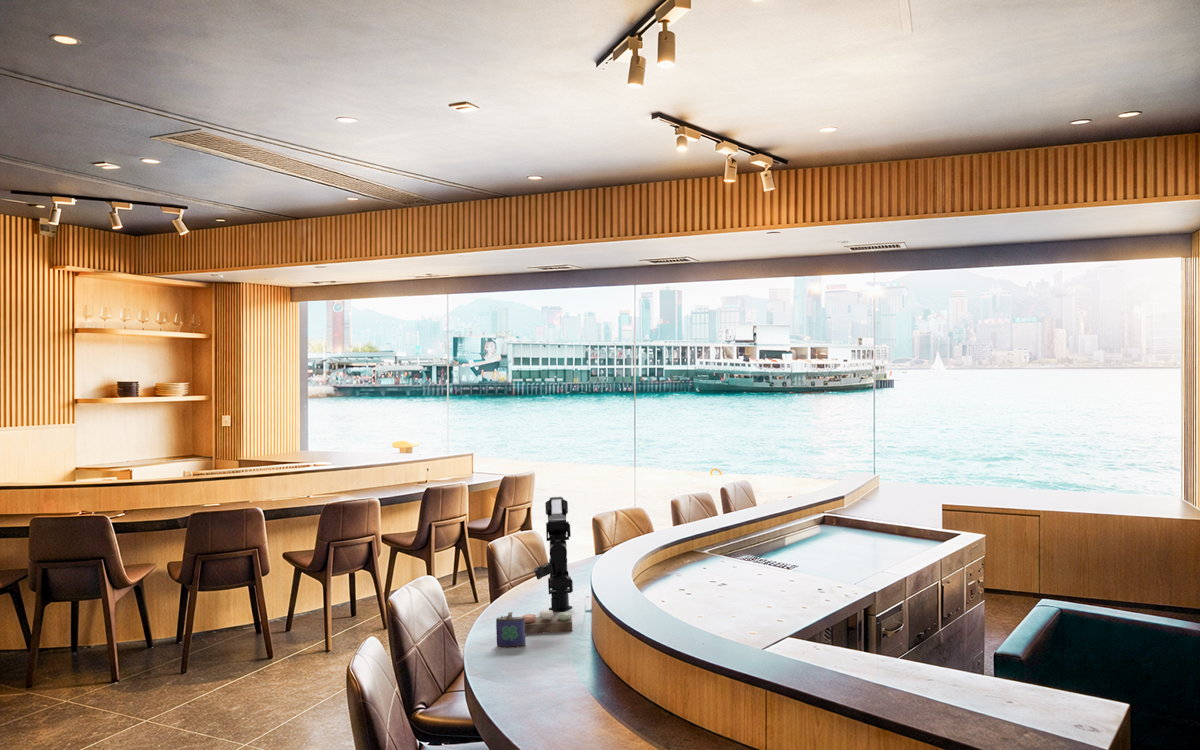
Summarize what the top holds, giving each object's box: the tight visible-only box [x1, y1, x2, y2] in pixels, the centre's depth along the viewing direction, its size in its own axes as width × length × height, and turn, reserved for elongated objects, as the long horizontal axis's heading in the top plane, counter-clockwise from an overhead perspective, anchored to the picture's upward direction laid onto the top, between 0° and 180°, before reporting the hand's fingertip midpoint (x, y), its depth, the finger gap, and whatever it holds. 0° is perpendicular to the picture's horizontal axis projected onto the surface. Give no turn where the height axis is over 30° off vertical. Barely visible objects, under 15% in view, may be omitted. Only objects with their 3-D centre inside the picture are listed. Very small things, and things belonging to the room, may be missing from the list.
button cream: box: [539, 609, 554, 619], centre depth 244 cm, size 4×4×2 cm
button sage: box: [557, 611, 572, 621], centre depth 245 cm, size 4×4×2 cm
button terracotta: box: [521, 613, 536, 623], centre depth 244 cm, size 4×4×2 cm
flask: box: [495, 611, 526, 649], centre depth 228 cm, size 9×3×11 cm, turn 88°
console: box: [525, 615, 573, 635], centre depth 244 cm, size 17×8×3 cm, turn 94°
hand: (560, 601), depth 245 cm, fingers closed
